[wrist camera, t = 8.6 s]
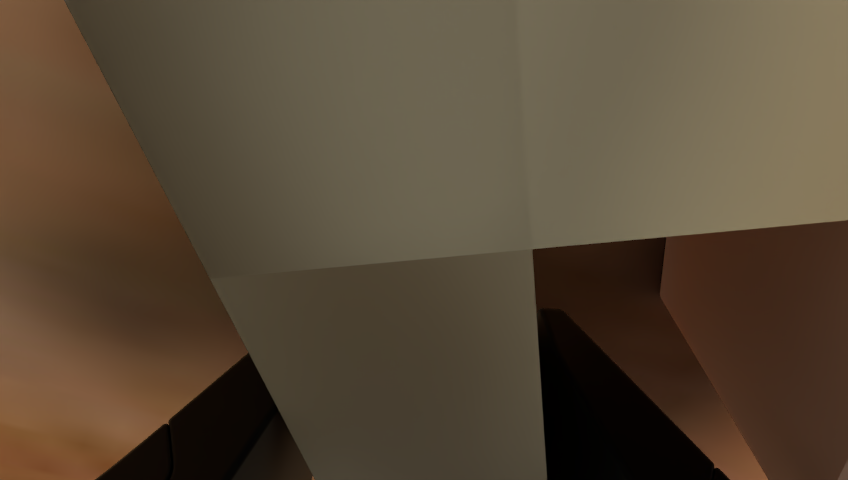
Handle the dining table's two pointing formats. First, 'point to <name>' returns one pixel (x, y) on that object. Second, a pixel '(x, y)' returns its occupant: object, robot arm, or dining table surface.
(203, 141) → the hook
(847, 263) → the block
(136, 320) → the dining table surface
